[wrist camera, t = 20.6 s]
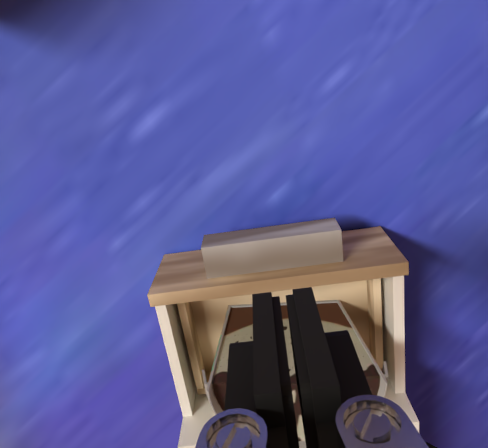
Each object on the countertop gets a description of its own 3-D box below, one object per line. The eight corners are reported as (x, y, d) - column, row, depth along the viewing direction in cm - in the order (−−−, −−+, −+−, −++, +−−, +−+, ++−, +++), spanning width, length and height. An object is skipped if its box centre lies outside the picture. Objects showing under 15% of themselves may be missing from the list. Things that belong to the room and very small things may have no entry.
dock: (168, 267, 38) (143, 333, 29) (379, 240, 36) (423, 299, 28) (210, 451, 45) (202, 548, 36) (386, 433, 44) (421, 528, 35)
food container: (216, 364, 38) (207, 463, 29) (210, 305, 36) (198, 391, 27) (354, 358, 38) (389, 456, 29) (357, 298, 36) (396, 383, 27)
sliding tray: (157, 227, 36) (139, 263, 30) (379, 197, 35) (408, 228, 29) (190, 365, 41) (180, 420, 35) (384, 342, 40) (409, 395, 34)
